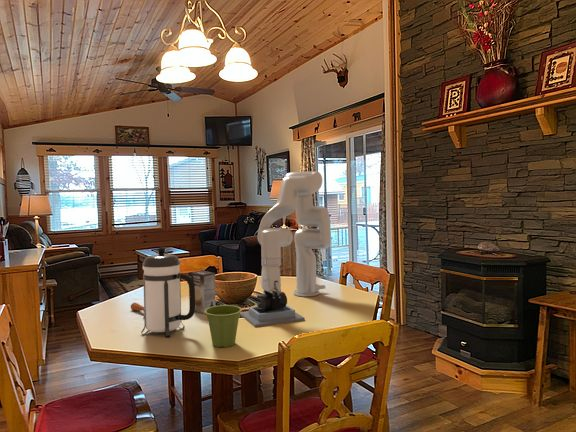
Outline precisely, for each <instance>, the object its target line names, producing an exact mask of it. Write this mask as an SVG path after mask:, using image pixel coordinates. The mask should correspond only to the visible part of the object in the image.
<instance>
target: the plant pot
mask: <svg viewBox="0 0 576 432" xmlns="http://www.w3.org/2000/svg"><path fill="white" fill-rule="evenodd" d="M242 311H243V309H242V307H240V306H238V305H231V304H230V305H229V304H226V305H225V304H221V305H215V306H213V307H210V308H207V309H206V310H205V314H206V319H207V321H208V327H209V331H210V337H211V338H210V339H211V343H212V344H211V345H212V346H214V347H216V348H222V347H224V348H229V347H232V346H234V345H235V343H236V341H237V340H236V339H237V332H238V325H239V320H240V316H241V315H240V312H242Z"/></svg>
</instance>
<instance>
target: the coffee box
mask: <svg viewBox="0 0 576 432" xmlns="http://www.w3.org/2000/svg"><path fill="white" fill-rule="evenodd" d="M190 277H191V278H192V280H193V282H194V286H195V312H197V313H201V314H203V315H205V314H206V313H205V310H206V309H207V308H210V307H213V306H216V273H215V272H211V271H206V270H199V271H193V272H191V273H190Z"/></svg>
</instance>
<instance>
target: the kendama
mask: <svg viewBox="0 0 576 432" xmlns="http://www.w3.org/2000/svg"><path fill="white" fill-rule="evenodd" d="M130 309H131V310H132V311H142V312H144V305H141V304H139V303H138V302H132V304H130Z"/></svg>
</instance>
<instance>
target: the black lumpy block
mask: <svg viewBox="0 0 576 432" xmlns="http://www.w3.org/2000/svg"><path fill="white" fill-rule="evenodd" d="M274 295H275V293H274ZM272 298H273V297H272V293H270V294H265V293H259V294H257V296H256V299H257V300H258V301H260V302H257V303H256V305H257V306H258V307H260V308H258V311H261V312H267V311H272V310H278V309H283V308H284V307H285V306H286V305H287V304H288V297H287V295H286V293H285V292H284V291H281V292H280V308H278V309H272ZM257 306H256V307H257Z"/></svg>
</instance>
